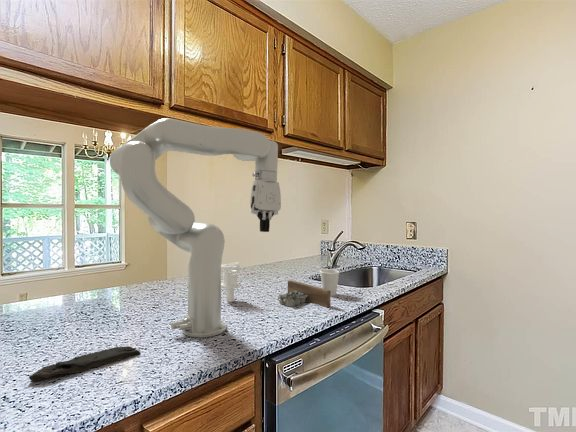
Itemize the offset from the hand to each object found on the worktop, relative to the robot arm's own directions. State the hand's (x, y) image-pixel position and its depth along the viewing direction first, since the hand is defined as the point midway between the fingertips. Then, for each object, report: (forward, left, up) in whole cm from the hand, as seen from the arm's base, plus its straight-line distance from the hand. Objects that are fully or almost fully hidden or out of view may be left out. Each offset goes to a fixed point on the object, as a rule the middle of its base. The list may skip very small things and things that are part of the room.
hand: (264, 231), depth 111 cm
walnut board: (+24, +3, -28) cm, 37 cm away
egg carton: (+18, +5, -29) cm, 34 cm away
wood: (-52, -3, -29) cm, 60 cm away
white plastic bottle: (0, +22, -29) cm, 36 cm away
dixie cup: (+38, +4, -29) cm, 48 cm away
